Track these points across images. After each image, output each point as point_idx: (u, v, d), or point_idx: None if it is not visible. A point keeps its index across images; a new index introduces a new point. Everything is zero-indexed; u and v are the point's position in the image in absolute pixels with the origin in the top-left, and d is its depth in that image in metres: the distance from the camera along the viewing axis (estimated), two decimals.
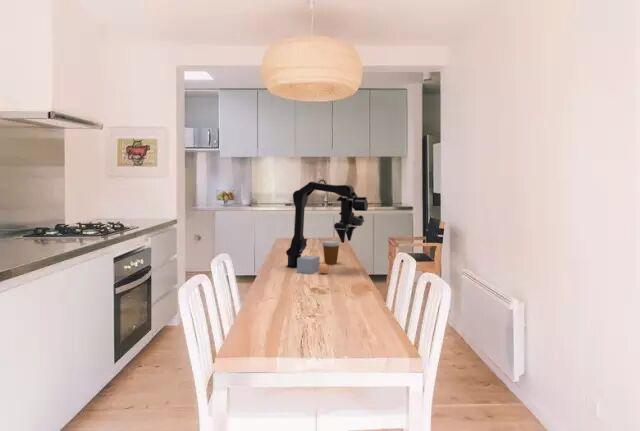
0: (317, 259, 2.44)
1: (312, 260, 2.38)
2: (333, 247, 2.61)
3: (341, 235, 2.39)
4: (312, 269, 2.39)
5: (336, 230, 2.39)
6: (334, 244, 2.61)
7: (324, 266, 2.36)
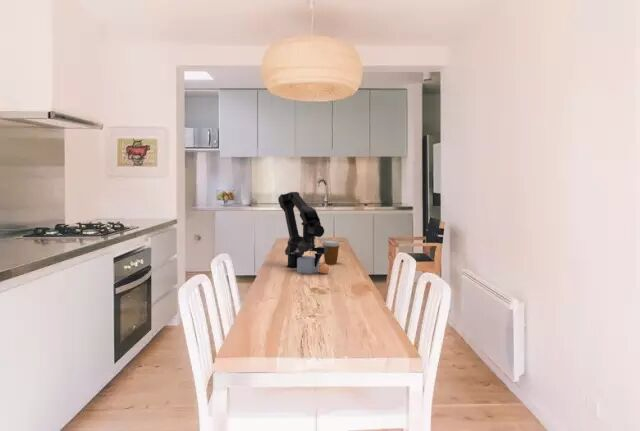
0: None
1: (312, 260, 2.38)
2: (333, 247, 2.61)
3: None
4: (312, 269, 2.39)
5: None
6: (334, 244, 2.61)
7: (324, 266, 2.36)
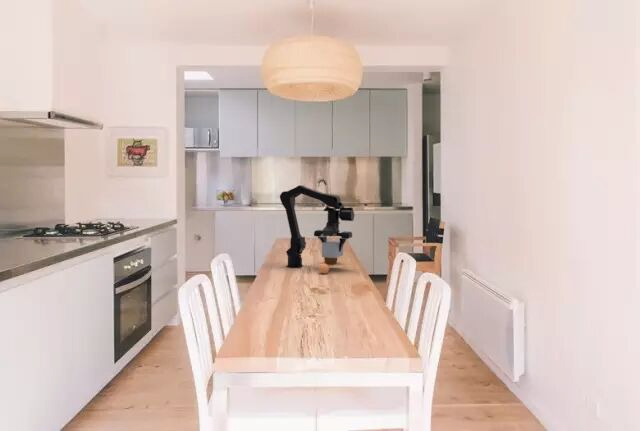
0: None
1: (337, 245, 2.43)
2: None
3: None
4: (337, 253, 2.44)
5: None
6: None
7: (324, 266, 2.36)
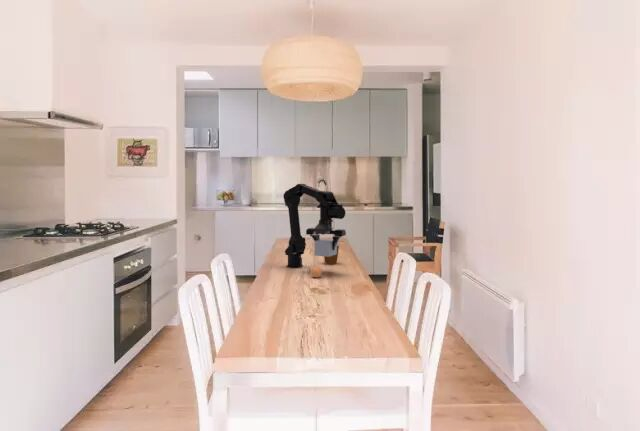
0: None
1: (330, 243, 2.34)
2: None
3: None
4: (330, 252, 2.34)
5: None
6: None
7: None
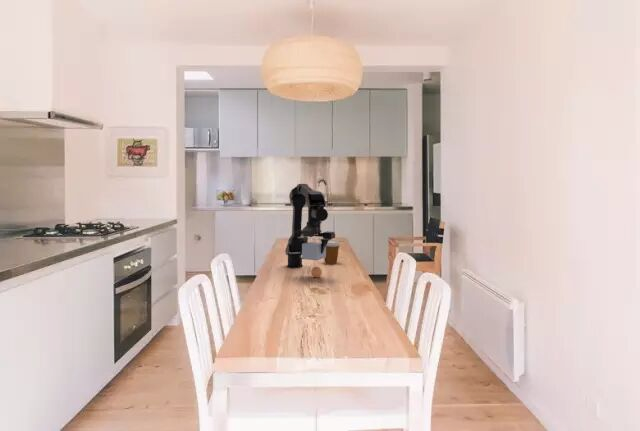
0: None
1: (318, 246, 2.21)
2: (333, 247, 2.61)
3: None
4: (318, 255, 2.22)
5: None
6: (334, 244, 2.61)
7: None
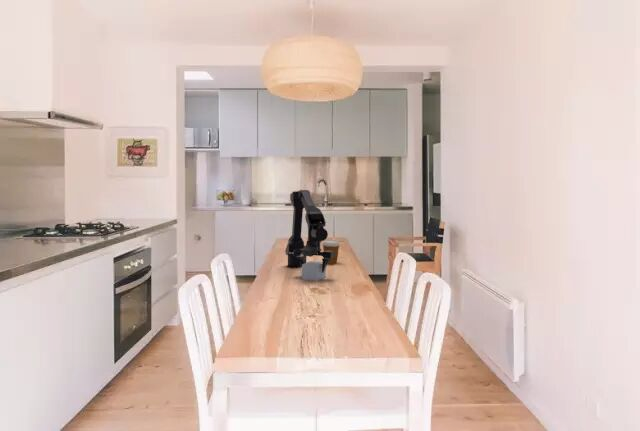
0: None
1: (318, 266, 2.22)
2: (333, 247, 2.61)
3: None
4: (318, 276, 2.23)
5: None
6: (334, 244, 2.61)
7: None
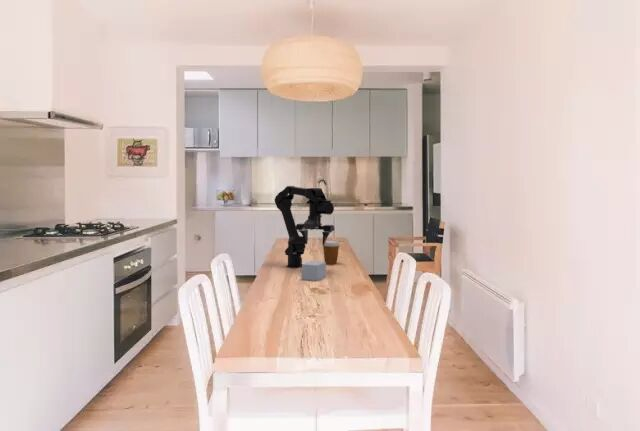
0: (323, 265, 2.28)
1: (318, 266, 2.22)
2: (333, 247, 2.61)
3: None
4: (318, 276, 2.23)
5: None
6: (334, 244, 2.61)
7: None
